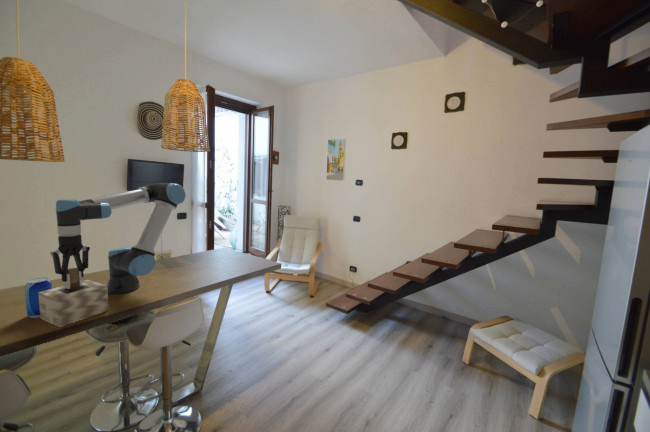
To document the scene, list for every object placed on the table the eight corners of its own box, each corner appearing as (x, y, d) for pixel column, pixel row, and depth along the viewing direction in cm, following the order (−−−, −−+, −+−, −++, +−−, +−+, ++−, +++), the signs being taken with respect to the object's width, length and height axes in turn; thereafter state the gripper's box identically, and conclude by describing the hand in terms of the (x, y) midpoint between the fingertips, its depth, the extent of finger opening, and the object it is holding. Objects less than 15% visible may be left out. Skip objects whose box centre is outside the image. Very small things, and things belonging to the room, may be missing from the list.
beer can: (33, 320, 121) (30, 284, 119) (23, 316, 124) (19, 281, 122) (58, 312, 128) (55, 278, 127) (47, 308, 132) (44, 275, 130)
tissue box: (89, 303, 139) (87, 279, 137) (108, 310, 132) (107, 285, 131) (40, 318, 122) (38, 292, 121) (60, 327, 116) (58, 299, 114)
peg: (81, 292, 127) (80, 268, 126) (70, 295, 123) (69, 271, 122) (76, 290, 129) (75, 267, 127) (66, 293, 125) (64, 269, 124)
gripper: (87, 231, 132) (90, 279, 135) (40, 236, 117) (44, 291, 120) (96, 232, 129) (99, 282, 132) (49, 238, 114) (54, 294, 117)
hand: (73, 286), depth 126 cm, fingers closed on peg, 3 cm apart
